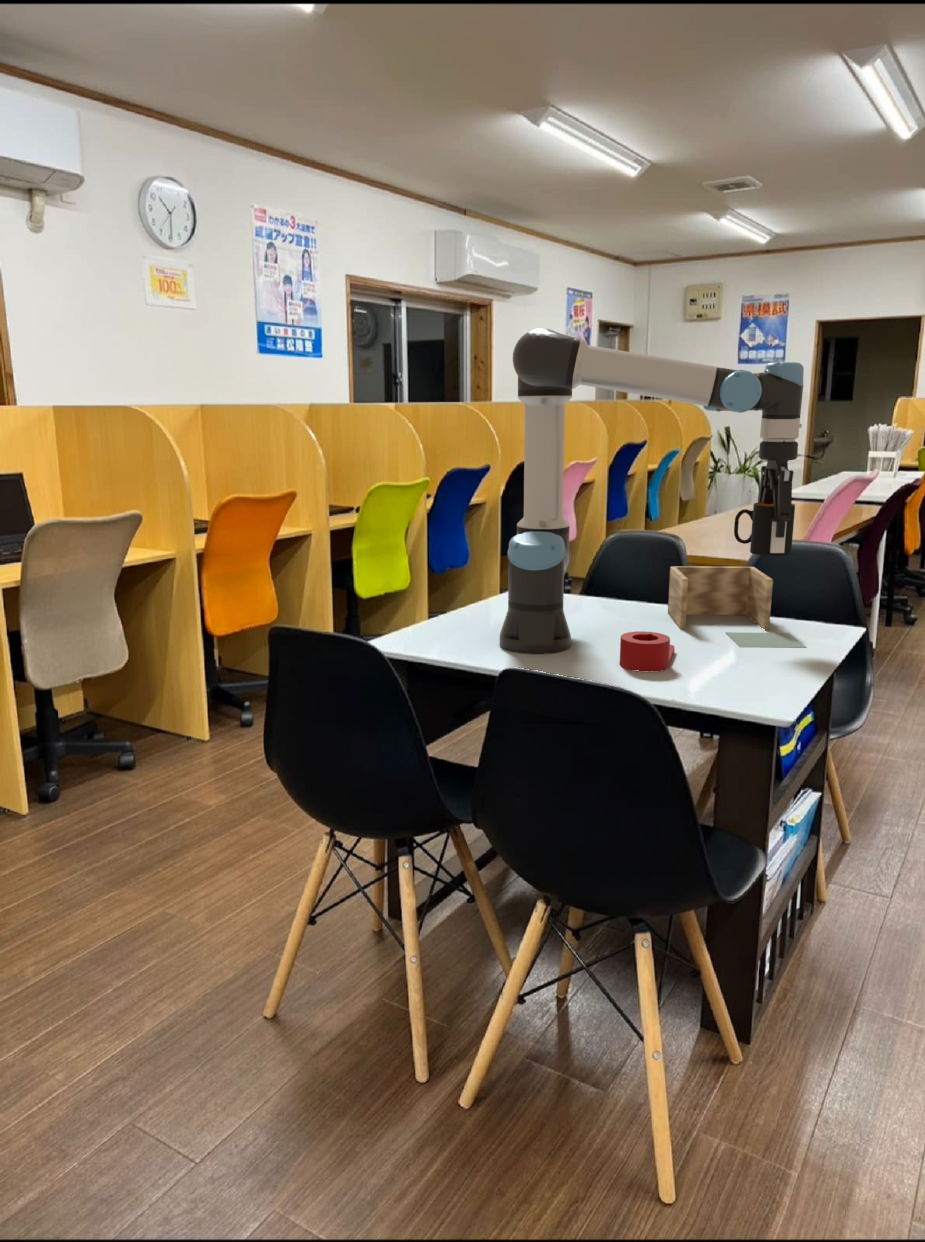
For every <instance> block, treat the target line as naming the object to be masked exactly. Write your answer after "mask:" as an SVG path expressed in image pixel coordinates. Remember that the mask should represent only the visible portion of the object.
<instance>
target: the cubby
mask: <svg viewBox="0 0 925 1242" xmlns="http://www.w3.org/2000/svg"><path fill="white" fill-rule="evenodd" d="M668 582H669V583H668V585H669V586H668V600H667V601H668V603H667V606H668V607H667V614H668V616H669V617H670V618H671V620H672V621H673V622H674V624H675V625H676V627H678V629H679V630H686V626H687V625H686V623H687V615H688V616H689V615H690V616H698V615H699V616H747V615H748V616H749V617H750V618H751V619H752V620H753V621H752V620H751V619H750V618H749V617H748V616H747V617H748V618H749V619H750V620H751V621H752V622H754V621H755V622H756V623H755V622H754V623H755V624H756V626H758V625H759V626H760V627H761V628H760V627H759V626H758V627H759V628H760V629H762V628H763V629H765V630H764V631H769V630H770V622H771V611H772V610H771V609H772V607H771V606H772V597H773V586H774V585H773V584H774V580H773V578H771V577H770V576H769V575H767V574H765V573H764V572H762V571H761V570H759V569H758V568H756V567H755V566H704V565H703V566H700V565H699V566H690V565H689V566H687V565H686V566H685V565H684V566H677V565H676V566H674V565H673V566H671V565H670V566H669V580H668ZM763 629H762V630H763Z"/></svg>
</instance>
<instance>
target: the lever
mask: <svg viewBox="0 0 925 1242" xmlns="http://www.w3.org/2000/svg"><path fill="white" fill-rule="evenodd" d="M619 642H620V643H619V645H620V646H619V647H620V648H619V666H620V667H621V668H623V669H625V668H626V669H625V670H628V669H629V671H632V670H639V671H649V672H648V673H651V672H650V671H658V672H662V671H661V670H663V671H665V670H668V669H669V667H670V666H671V662H672V659H673V658H674V655H675V645H673V644H671V637H670V636H668V635H666V634H664V633H660V632H655V631H654V632H653V631H642V630H641V631H639V630H637V631H628V632H624V633H622V634H621V635H620V640H619ZM667 668H668V669H667Z"/></svg>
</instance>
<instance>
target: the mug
mask: <svg viewBox="0 0 925 1242" xmlns="http://www.w3.org/2000/svg"><path fill="white" fill-rule="evenodd" d="M795 510H796V504H794V503H792V507H791V519H790V520H788V521H787V524H786V537H785V549H784V553H770V544H771V532H772V522H771V519H772V518H774V504H768V505H767V504H764V503H763V502H758V501H757V502H755V503H754V502H753V507H752V510H751V509H747V508H746V509H741V510H739V511H738V513H737V514H736V515H735V518H734V524H733V525H734V526H733V534H734V538H735V540H736V541H737V542H738V543H740V544H749V543H750V549H749V552H750V553H751V554H752V555H757V556H765V557H786V556H787V557H788V556H790V555H791V554H792V548H793V547H792V546H793V536H794V535H793V534H794V525H795V524H794V522H795V514H796V513H795V512H796V511H795ZM743 514H747V515H748V516H749V517H750V520H751V521H752V522H751V534H750V535H749V537H748V538H747V539H742V538H741V537H740V535H739V523H740V522H739V521H740V518H741V516H742V515H743Z"/></svg>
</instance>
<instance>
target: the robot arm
mask: <svg viewBox="0 0 925 1242" xmlns="http://www.w3.org/2000/svg"><path fill="white" fill-rule="evenodd" d="M512 365H513V368H514V371H515V373H516V375H517V398H518V400H519V401H520V402H521V403H522V404H523V405H524V441H523V442H524V449H523V450H524V455H523V456H524V460H523V461H524V462H523V463H524V465H523V466H524V467H523V468H524V469H523V472H524V473H523V479H524V480H523V517H522V518H521V519H520V520H519V521H518V522H517V523H516V535H514V536H512V537H511V538H510V540H509V542H508V549H507V558H508V571H507V572H508V575H507V576H508V578H507V579H508V580H507V581H508V585H507V586H508V587H507V589H508V591H507V592H508V595H507V599H508V600H507V601H508V602H507V612H506V615H505V617H504V621H503V622H502V623H503V624H502V627H501V630H500V632H499V646H500V647H501V648H502V649H504V650H506V651H510V652H514V653H519V654H526V653H529V654H528V655H546V654H547V653H548V654H556V653H561V652H564V651H566V650H568V649H570V648H571V647H572V646H571V645H572V643H571V642H572V635H571V632H570V631H571V630H570V628H569V625H568V621H567V618H566V613H565V611H564V595H565V591H564V589H565V588H564V587H565V574H566V572H567V570H568V568H569V565H570V564H571V558H572V557H571V556H572V553H571V552H572V550H571V549H570V547H571V546H570V523H569V522H568V521H567V520H566V519H565V518H564V472H565V471H564V465H565V461H564V459H565V452H564V451H565V409H566V405H567V403H568V402H570V400H571V399H572V398H573V390H574V389H576V388H577V387H578V386H586V387H593V388H598V389H599V388H600V389H604V390H610V391H615V392H620V393H621V392H622V393H627V394H633V395H640V396H643V397H644V396H645V397H650V398H651V397H652V398H657V399H663V400H669V401H674V402H680V403H686V404H692V405H698V406H703V409H704V410H706V411H710V412H711V411H712V412H715V411H716V412H718V413H719V412H724V411H725V412H733V413H734V412H735V413H745V412H748V411H755V412H757V411H761V420H760V433H759V435H760V436H759V438H760V439H762V440H761V441H760V442H759V450H758V451H759V453H758V457H759V459H760V460H764V461H766V465H763V466H761V468H760V482H759V489H758V491H759V492H758V498H757V503H758V502H763V503H764V504H767V505H768V504H774V518H772V519H771V522H772V532H771V544H770V553H784V549H785V537H786V524H787V521H788V520H790V519H791V507H792V504H793V501H792V500H793V499H792V497H793V478H794V470H792V469H791V470H790V469H789V466H788V465H789V464H788V462H789V461H793V460H794V461H795V460H796V459H797V458H798V450H799V443H798V441H796V439H799V435H800V429H802V427H803V424H802V423H800V422H801V413H802V401H803V393H804V387H805V385H804V368H805V367H804V366H803V364H801V363H800V362H794V361H793V362H790V361H789V362H788V361H786V362H768V363H766V365H765V368H764V371H763V372H757V373H755V372H752V371H749V370H747V369H746V370H745V369H739V370H738V369H732V368H731V369H730V368H726V367H717V366H714V365H707V364H703V363H695V362H689V361H683V360H678V359H671V358H666V357H661V356H660V357H659V356H654V355H649V354H644V353H643V354H641V353H636V352H631V351H625V350H619V349H614V348H608V347H607V348H606V347H600V346H596V345H590V344H588V343H587V342H586V340H585V339H584V338H580V337H575V336H571V335H566V334H563V333H560V332H558V331H555V330H553V329H549V328H545V327H540V328H534V329H531V330H529V331H527V332H526V333H524V334H523V335H522V336H521V337H520V338H519V339H518V340H517V342H516V344H515V346H514V349H513V352H512ZM545 653H546V654H545ZM548 654H547V655H548Z"/></svg>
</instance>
